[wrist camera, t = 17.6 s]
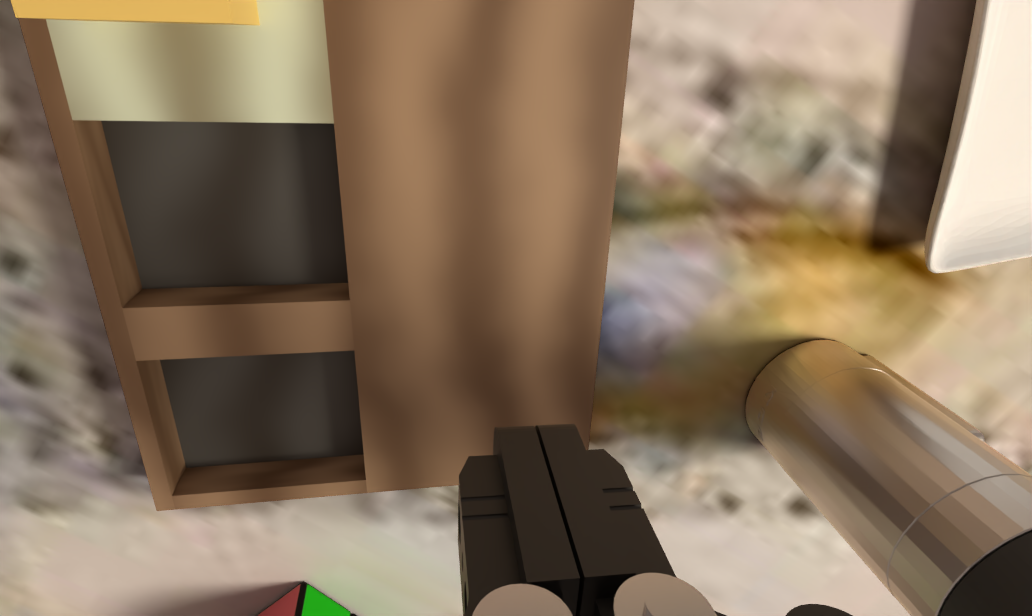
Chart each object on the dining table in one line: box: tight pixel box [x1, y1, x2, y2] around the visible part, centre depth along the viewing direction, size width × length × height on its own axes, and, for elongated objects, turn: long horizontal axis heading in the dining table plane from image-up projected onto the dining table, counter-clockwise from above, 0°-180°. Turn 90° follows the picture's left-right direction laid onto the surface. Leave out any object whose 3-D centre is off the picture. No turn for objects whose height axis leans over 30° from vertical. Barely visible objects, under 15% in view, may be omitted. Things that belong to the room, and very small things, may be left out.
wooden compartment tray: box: [18, 0, 634, 511], centre depth 31 cm, size 26×36×3 cm
